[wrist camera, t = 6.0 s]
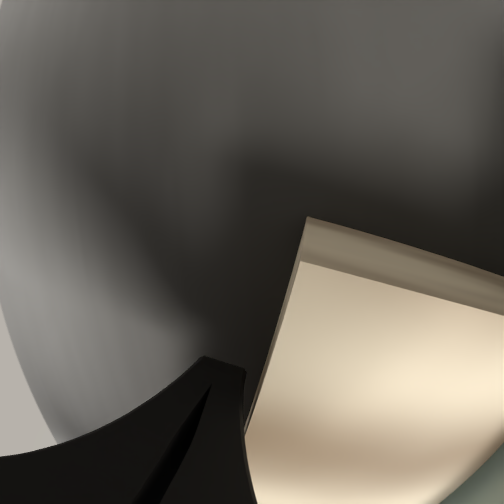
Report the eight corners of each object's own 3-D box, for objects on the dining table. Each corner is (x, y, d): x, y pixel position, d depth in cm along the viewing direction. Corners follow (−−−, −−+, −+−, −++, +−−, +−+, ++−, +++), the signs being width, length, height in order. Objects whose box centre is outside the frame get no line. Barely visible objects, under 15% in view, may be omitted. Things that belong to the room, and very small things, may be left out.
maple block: (401, 459, 12) (408, 526, 8) (242, 432, 13) (219, 504, 9) (516, 279, 8) (577, 336, 5) (307, 213, 9) (300, 260, 5)
